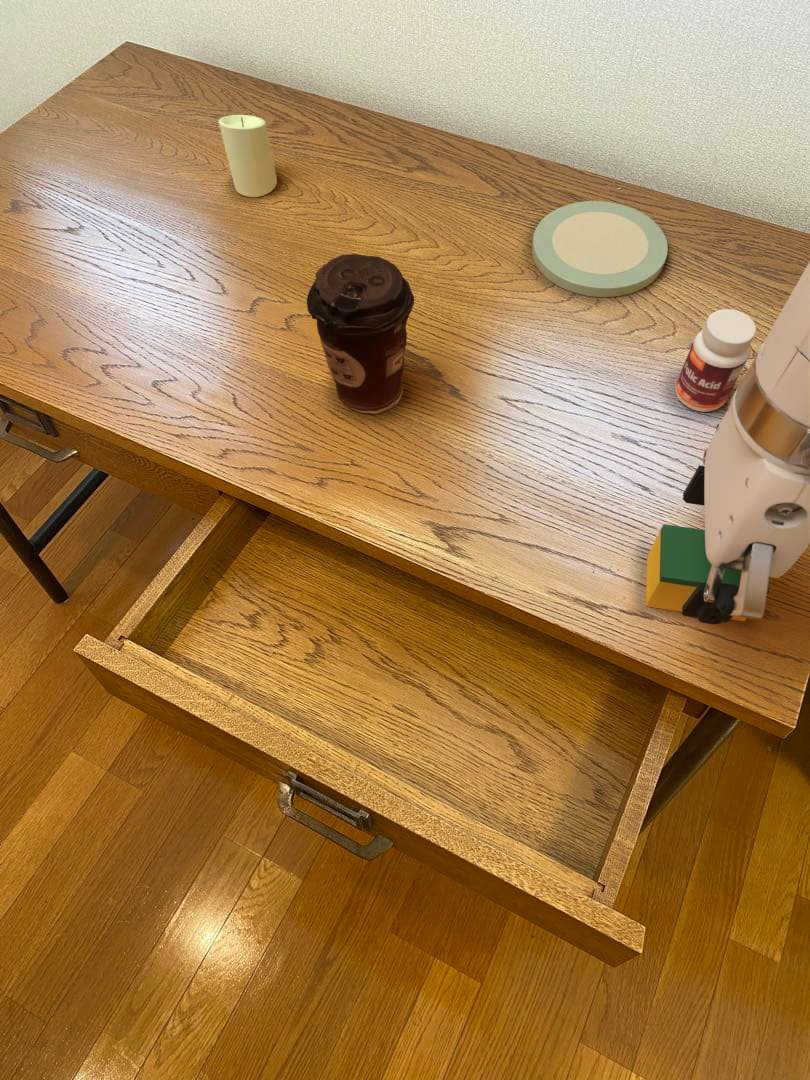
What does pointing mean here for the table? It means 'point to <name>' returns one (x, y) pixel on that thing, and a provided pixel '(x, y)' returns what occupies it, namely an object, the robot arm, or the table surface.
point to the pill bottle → (715, 360)
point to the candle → (248, 154)
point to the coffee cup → (362, 328)
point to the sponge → (680, 568)
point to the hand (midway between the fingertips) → (703, 556)
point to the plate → (599, 248)
